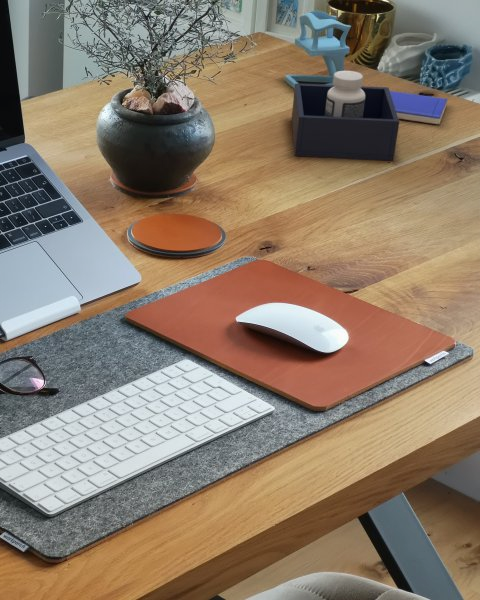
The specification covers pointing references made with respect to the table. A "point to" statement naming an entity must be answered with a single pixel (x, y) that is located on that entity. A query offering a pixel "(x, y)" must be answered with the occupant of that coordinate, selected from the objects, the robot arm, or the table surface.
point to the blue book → (418, 107)
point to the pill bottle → (346, 96)
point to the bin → (344, 126)
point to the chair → (321, 46)
